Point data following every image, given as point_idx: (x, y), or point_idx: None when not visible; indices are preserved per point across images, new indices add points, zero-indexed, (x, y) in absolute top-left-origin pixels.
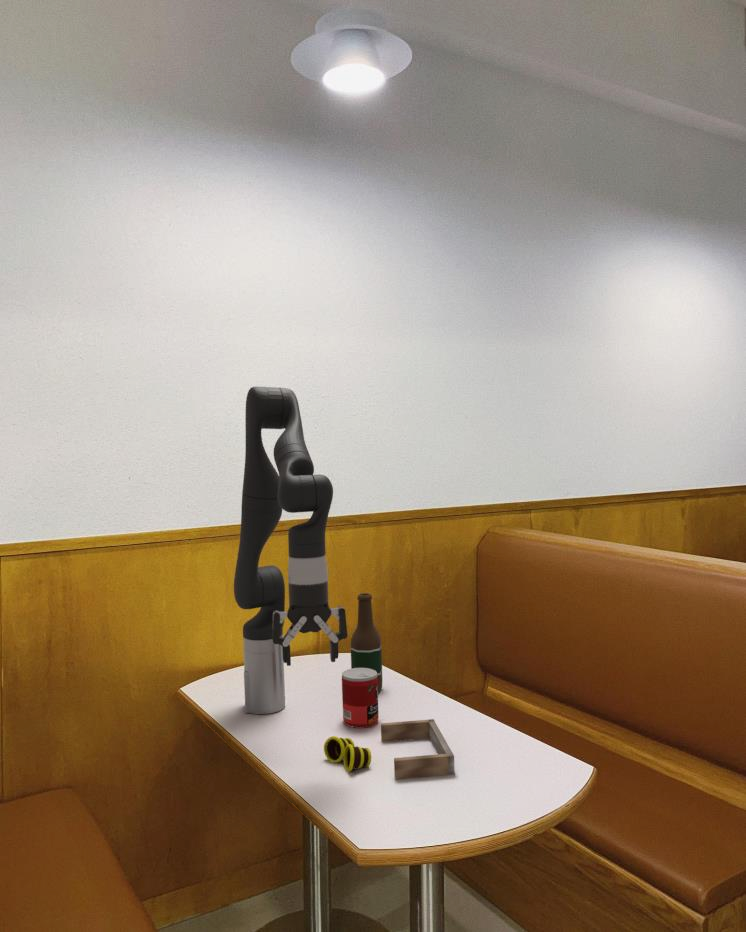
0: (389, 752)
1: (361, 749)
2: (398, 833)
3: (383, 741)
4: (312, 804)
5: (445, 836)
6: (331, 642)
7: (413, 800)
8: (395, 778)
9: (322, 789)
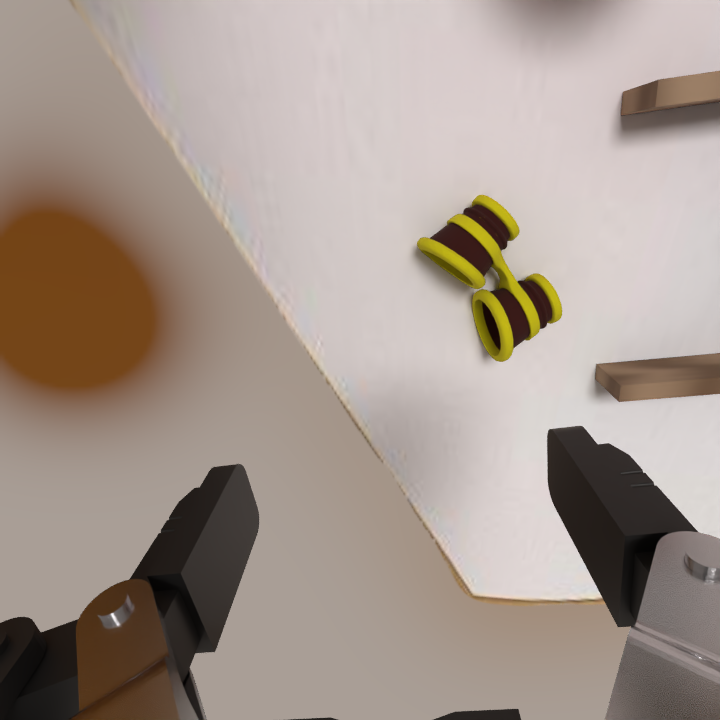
0: (623, 207)
1: (536, 326)
2: (547, 566)
3: (626, 114)
4: (390, 467)
5: None
6: (629, 597)
7: None
8: (596, 379)
9: (411, 409)
